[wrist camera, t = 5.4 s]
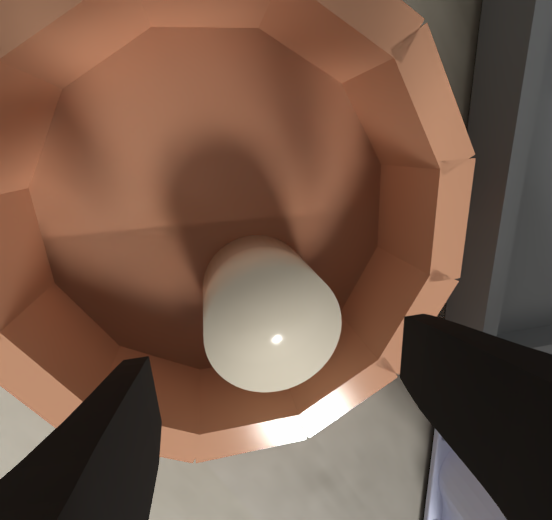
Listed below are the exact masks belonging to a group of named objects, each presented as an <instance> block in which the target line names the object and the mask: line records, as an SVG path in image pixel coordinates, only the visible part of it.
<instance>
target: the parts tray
mask: <svg viewBox="0 0 552 520" xmlns="http://www.w3.org/2000/svg"><path fill="white" fill-rule="evenodd" d="M467 133H468V136H469V138H470V141H471V144H472V147H473V149H474V152H475V155H474V156H472V157H471V158H476V159H475V167H474V175H473V183H472V190H471V198H470V206H469V214H468V221H467V229H466V237H465V245H464V252H463V260H462V268H461V276H460V278H457V279H455V280H457V281H459V282H458V284H457V285H456V287H455V288H454V290H453V292H452V293H451V295H450V296H449V298H448V300H447V304H446V313H445V319H446V320H449V321H452V322H455V323H458V324H461V325H464V326H467V327H470V328H473V329H476V330H479V331H482V332H485V333H488V334H490V335H493V336H496V337H499V338H502V339H505V340H508V341H511V342H514V343H517V344H520V345H523V346H526V347H530V348H533V349H536V350H539V351H543V352H546V353H549V354H552V0H483V1H482V10H481V18H480V27H479V35H478V43H477V52H476V60H475V69H474V77H473V86H472V94H471V102H470V111H469V119H468V128H467Z"/></svg>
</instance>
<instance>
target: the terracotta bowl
mask: <svg viewBox="0 0 552 520" xmlns="http://www.w3.org/2000/svg"><path fill="white" fill-rule="evenodd" d="M423 21H424V18H423V17H422V16H421V15H419V14H418V13H417V12H416V11H414V10H413V9H412V8H411V7H409V6H408V5H407V4H406V3H405V2H403V1H402V0H0V386H1V387H2V388H4V389H5V390H6V391H8V392H9V393H10V394H12V395H13V396H14V397H16V398H17V399H18V400H19V401H21V402H22V403H23V404H25V405H26V406H27V407H29V408H30V409H31V410H33V411H34V412H35V413H37V414H38V415H39V416H40V417H42V418H43V419H44V420H46V421H47V422H48V423H50V424H51V425H52V426H54V427H55V428H57V427H58V426H59V425H60V424H61V423H62V422H63V421H64V420H65V419H66V418H67V417H68V416H69V415H70V414H71V413H72V412H73V411H74V410H75V409H76V408H77V407H78V406H79V405H80V404H81V403H82V402H83V401H84V400H85V399H86V398H87V397H88V396H89V395H90V394H91V393H92V392H93V391H94V390H95V389H96V388H97V387H98V386H99V384H100V383H101V382H102V381H103V380H104V379H105V378H106V377H107V376H108V375H109V374H110V373H111V372H112V371H113V370H114V369H115V368H116V367H117V366H118V365H119V364H120V363H121V362H122V361H123V360H126V359H133V358H139V357H146V356H149V359H150V364H151V369H152V374H153V379H154V384H155V389H156V395H157V400H158V405H159V410H160V415H161V420H162V428H161V443H160V456H159V457H164V458H169V459H174V460H179V461H184V462H189V463H193V462H194V460H195V459H196V463H199V462H204V461H209V460H213V459H218V458H223V457H228V456H232V455H237V454H242V453H246V452H251V451H256V450H260V449H265V448H270V447H274V446H279V445H284V444H288V443H293V442H298V441H303V440H306V435H307V436H308V438H311V437H312V436H313V435H315V434H316V433H318V432H319V431H321V430H322V429H324V428H325V427H326V426H328V425H329V424H331V423H332V422H334V421H335V420H337V419H338V418H339V417H341V416H342V415H344V414H345V413H347V412H348V411H350V410H351V409H352V408H354V407H355V406H357V405H358V404H360V403H361V402H363V401H364V400H365V399H367V398H368V397H370V396H371V395H373V394H374V393H376V392H377V391H379V390H380V389H381V388H383V387H384V386H386V385H387V384H389V383H390V382H392V381H393V380H394V379H396V378H397V377H398V376H397V375H396V373H397V374H400V366H401V353H402V340H403V327H404V317H405V316H411V315H418V314H428V315H432V316H436V317H437V315H438V314H439V312H440V311H441V309H442V307H443V306H444V304H445V303H446V301H447V300H448V298H449V296H450V295H451V293H452V292H453V290H454V288H455V287H456V285H457V284H458V282H459V281H457V280H455V279H457V278H460V276H461V268H462V260H463V252H464V245H465V237H466V229H467V221H468V214H469V206H470V198H471V190H472V183H473V175H474V167H475V159H476V158H471V157H472V156H474V155H475V152H474V149H473V147H472V144H471V141H470V138H469V136H468V133H467V130H466V127H465V125H464V122H463V119H462V116H461V114H460V111H459V108H458V106H457V103H456V100H455V97H454V95H453V92H452V89H451V86H450V84H449V81H448V78H447V75H446V73H445V70H444V67H443V64H442V62H441V59H440V56H439V53H438V51H437V48H436V45H435V43H434V40H433V37H432V34H431V32H430V29H429V26H428V23H426V24H424V25H422V23H423ZM421 25H422V26H421ZM250 235H264V236H270V237H274V238H276V239H279V240H281V241H283V242H284V243H286V244H287V245H289V246H290V247H291V248H292V249H293V250H294V251H295V252H296V253H297V254H298V255H299V256H300V257H301V258H302V259H303V260H304V261H305V262H306V263H307V264H308V265H309V266H310V268H311V269H312V270H313V271H314V272H315V273H316V274H317V275H318V276H319V277H320V278H321V279H322V280H323V281H324V282H325V283H326V284H327V285H328V286H329V288H330V289H331V290H332V292H333V293H334V295H335V297H336V299H337V301H338V304H339V307H340V311H341V320H342V325H341V333H340V338H339V341H338V344H337V346H336V348H335V350H334V352H333V354H332V356H331V357H330V359H329V360H328V361H327V363H326V364H325V365H324V366H323V367H322V368H321V369H320V370H319V371H318V372H317V373H316V374H315V375H313V376H312V377H311V378H309V379H308V380H306V381H304V382H303V383H301V384H299V385H297V386H294V387H292V388H289V389H285V390H281V391H276V392H253V391H248V390H244V389H242V388H239V387H236V386H234V385H232V384H231V383H229V382H228V381H226V380H225V379H223V378H222V377H221V376H220V375H219V374H218V373H217V372H216V371H215V369H214V368H213V367H212V365H211V363H210V362H209V360H208V357H207V355H206V352H205V347H204V339H203V278H204V274H205V271H206V268H207V266H208V264H209V262H210V260H211V259H212V258H213V256H214V255H215V254H216V253H217V252H218V251H219V250H220V249H221V248H222V247H224V246H225V245H226V244H228V243H230V242H231V241H233V240H236V239H238V238H241V237H245V236H250Z"/></svg>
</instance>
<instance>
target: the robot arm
mask: <svg viewBox="0 0 552 520" xmlns="http://www.w3.org/2000/svg"><path fill="white" fill-rule="evenodd" d="M400 378H401V380H402V382H403V383H404V385H405V387H406V388H407V390H408V392H409V393H410V395H411V397H412V398H413V400H414V401H415V403H416V404H417V406H418V407H419V409H420V410H421V411H422V413H423V414H424V415H425V416H426V418H427V419H428V420H429V421H430V423H431V424H432V425H433V426H434V428H435V431H434V439H433V448H432V456H431V464H430V472H429V480H428V488H427V497H426V505H425V513H424V520H552V354H549V353H546V352H543V351H539V350H536V349H533V348H530V347H526V346H523V345H520V344H517V343H514V342H511V341H508V340H505V339H502V338H499V337H496V336H493V335H490V334H488V333H485V332H482V331H479V330H476V329H473V328H470V327H467V326H464V325H461V324H458V323H455V322H452V321H449V320H446V319H443V318H439V317H436V316H432V315H428V314H418V315H411V316H405V317H404V327H403V340H402V353H401V366H400ZM161 428H162V420H161V415H160V410H159V405H158V400H157V395H156V389H155V384H154V379H153V374H152V369H151V364H150V359H149V356H146V357H139V358H133V359H126V360H123V361H122V362H121V363H120V364H119V365H118V366H117V367H116V368H115V369H114V370H113V371H112V372H111V373H110V374H109V375H108V376H107V377H106V378H105V379H104V380H103V381H102V382H101V383H100V384H99V386H98V387H97V388H96V389H95V390H94V391H93V392H92V393H91V394H90V395H89V396H88V397H87V398H86V399H85V400H84V401H83V402H82V403H81V404H80V405H79V406H78V407H77V408H76V409H75V410H74V411H73V412H72V413H71V414H70V415H69V416H68V417H67V418H66V419H65V420H64V421H63V422H62V423H61V424H60V425H59V426H58V427H57V428H56V429H55V430H54V431H53V432H52V433H51V434H50V435H49V436H47V437H46V438H45V439H44V440H43V441H42V442H41V443H40V444H39V445H38V446H37V447H36V448H35V449H34V450H33V451H32V452H31V453H29V454H28V455H27V456H26V457H25V458H24V459H23V460H22V461H21V462H20V463H19V464H17V465H16V466H15V467H14V468H13V469H12V470H11V471H10V472H8V473H7V474H6V475H5V476H4V477H3V478H1V479H0V520H148V519H149V514H150V509H151V504H152V498H153V493H154V487H155V482H156V477H157V471H158V465H159V456H160V443H161Z"/></svg>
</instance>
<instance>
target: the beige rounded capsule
mask: <svg viewBox="0 0 552 520" xmlns="http://www.w3.org/2000/svg"><path fill="white" fill-rule="evenodd" d="M341 325H342V320H341V311H340V307H339V304H338V301H337V299H336V297H335V295H334V293H333V292H332V290H331V289H330V288H329V286H328V285H327V284H326V283H325V282H324V281H323V280H322V279H321V278H320V277H319V276H318V275H317V274H316V273H315V272H314V271H313V270H312V269H311V268H310V266H309V265H308V264H307V263H306V262H305V261H304V260H303V259H302V258H301V257H300V256H299V255H298V254H297V253H296V252H295V251H294V250H293V249H292V248H291V247H290V246H289V245H287V244H286V243H284V242H283V241H281V240H279V239H276V238H274V237H270V236H264V235H250V236H245V237H241V238H238V239H236V240H233V241H231V242H230V243H228V244H226V245H225V246H224V247H222V248H221V249H220V250H219V251H218V252H217V253H216V254H215V255H214V256H213V258H212V259H211V260H210V262H209V264H208V266H207V268H206V271H205V274H204V278H203V339H204V347H205V352H206V355H207V357H208V360H209V362H210V363H211V365H212V367H213V368H214V369H215V371H216V372H217V373H218V374H219V375H220V376H221V377H222V378H223V379H225V380H226V381H228V382H229V383H231V384H232V385H234V386H236V387H239V388H242V389H244V390H248V391H253V392H276V391H281V390H285V389H289V388H292V387H294V386H297V385H299V384H301V383H303V382H304V381H306V380H308V379H309V378H311V377H312V376H313V375H315V374H316V373H317V372H318V371H319V370H320V369H321V368H322V367H323V366H324V365H325V364H326V363H327V361H328V360H329V359H330V357H331V356H332V354H333V352H334V350H335V348H336V346H337V344H338V341H339V338H340V333H341Z"/></svg>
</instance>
